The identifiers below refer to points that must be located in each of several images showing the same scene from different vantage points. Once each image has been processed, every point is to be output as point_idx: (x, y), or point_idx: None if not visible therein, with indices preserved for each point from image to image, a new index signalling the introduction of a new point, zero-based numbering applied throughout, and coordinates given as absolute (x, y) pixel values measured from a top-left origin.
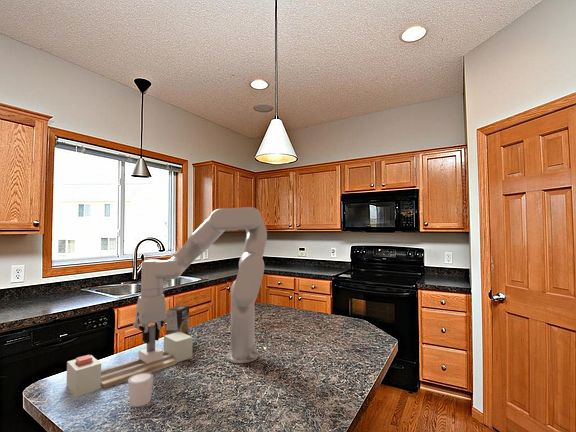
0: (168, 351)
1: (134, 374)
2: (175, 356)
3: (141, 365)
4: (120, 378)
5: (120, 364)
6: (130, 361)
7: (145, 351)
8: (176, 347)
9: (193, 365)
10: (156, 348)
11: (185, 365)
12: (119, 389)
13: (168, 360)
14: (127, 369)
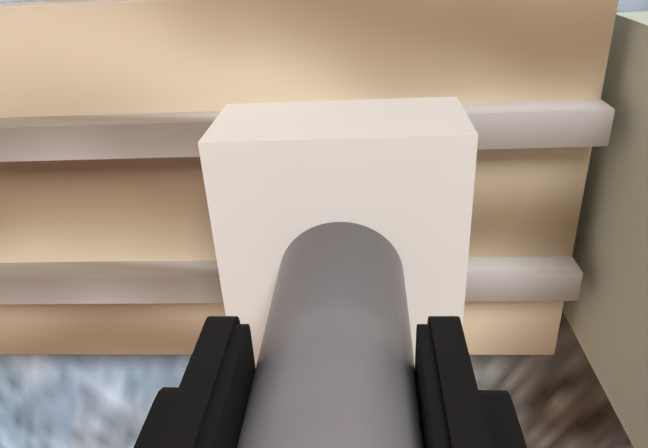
0: (624, 180)
1: (125, 351)
2: (583, 336)
3: (201, 301)
4: (6, 350)
5: (18, 22)
6: (145, 17)
7: (264, 261)
8: (629, 433)
9: (616, 441)
10: (435, 267)
11: (575, 401)
12: (16, 401)
13: (495, 313)
14: (57, 303)
